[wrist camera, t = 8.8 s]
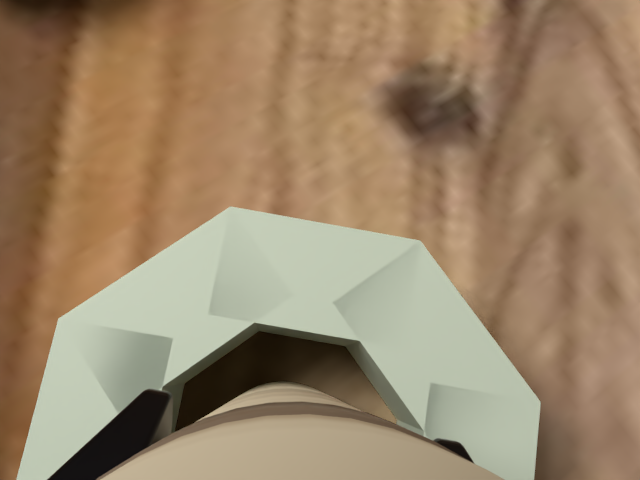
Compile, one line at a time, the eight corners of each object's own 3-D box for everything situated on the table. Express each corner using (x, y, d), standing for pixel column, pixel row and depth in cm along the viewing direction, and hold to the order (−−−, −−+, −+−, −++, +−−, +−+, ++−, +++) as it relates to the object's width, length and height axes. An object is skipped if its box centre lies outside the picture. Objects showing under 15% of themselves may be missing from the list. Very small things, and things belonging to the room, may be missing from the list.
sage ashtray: (565, 495, 18) (632, 525, 15) (225, 783, 16) (210, 895, 12) (330, 175, 20) (341, 134, 16) (-7, 398, 18) (-76, 406, 14)
